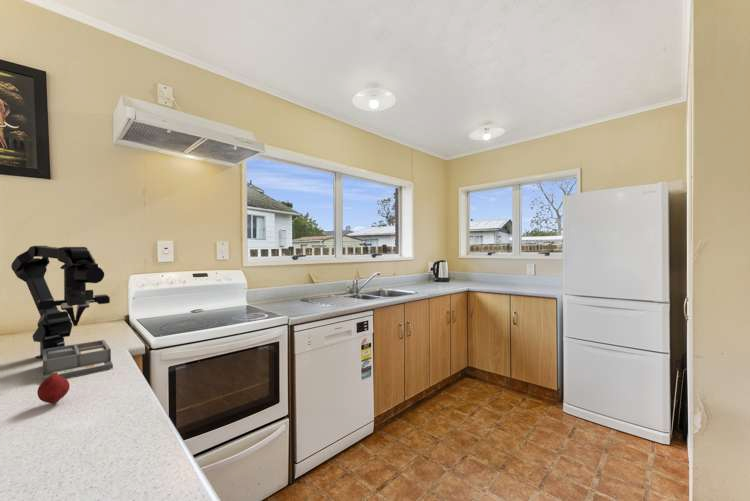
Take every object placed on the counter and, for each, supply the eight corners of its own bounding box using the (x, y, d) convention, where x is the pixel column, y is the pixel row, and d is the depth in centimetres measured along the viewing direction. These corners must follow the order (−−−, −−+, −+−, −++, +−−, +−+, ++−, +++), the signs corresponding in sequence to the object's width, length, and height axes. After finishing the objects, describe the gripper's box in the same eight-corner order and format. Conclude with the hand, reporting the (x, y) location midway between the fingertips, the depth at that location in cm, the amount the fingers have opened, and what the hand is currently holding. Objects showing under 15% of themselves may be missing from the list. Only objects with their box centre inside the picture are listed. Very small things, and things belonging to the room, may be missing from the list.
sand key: (80, 356, 111) (80, 351, 111) (103, 351, 115) (103, 347, 115) (81, 360, 107) (81, 355, 107) (105, 355, 111) (105, 351, 111)
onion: (49, 410, 81) (48, 377, 81) (31, 408, 82) (30, 376, 82) (75, 399, 86) (74, 369, 86) (58, 397, 88) (57, 367, 87)
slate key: (47, 356, 111) (47, 351, 111) (72, 352, 115) (72, 347, 115) (48, 360, 107) (48, 356, 106) (73, 356, 111) (73, 351, 111)
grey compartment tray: (42, 365, 111) (42, 349, 111) (104, 354, 122) (104, 339, 122) (43, 383, 97) (43, 364, 97) (112, 368, 108) (112, 351, 108)
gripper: (37, 286, 105) (38, 335, 105) (112, 282, 118) (112, 325, 118) (37, 283, 113) (37, 328, 113) (107, 279, 126) (107, 320, 126)
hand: (75, 325), depth 117 cm, fingers closed
